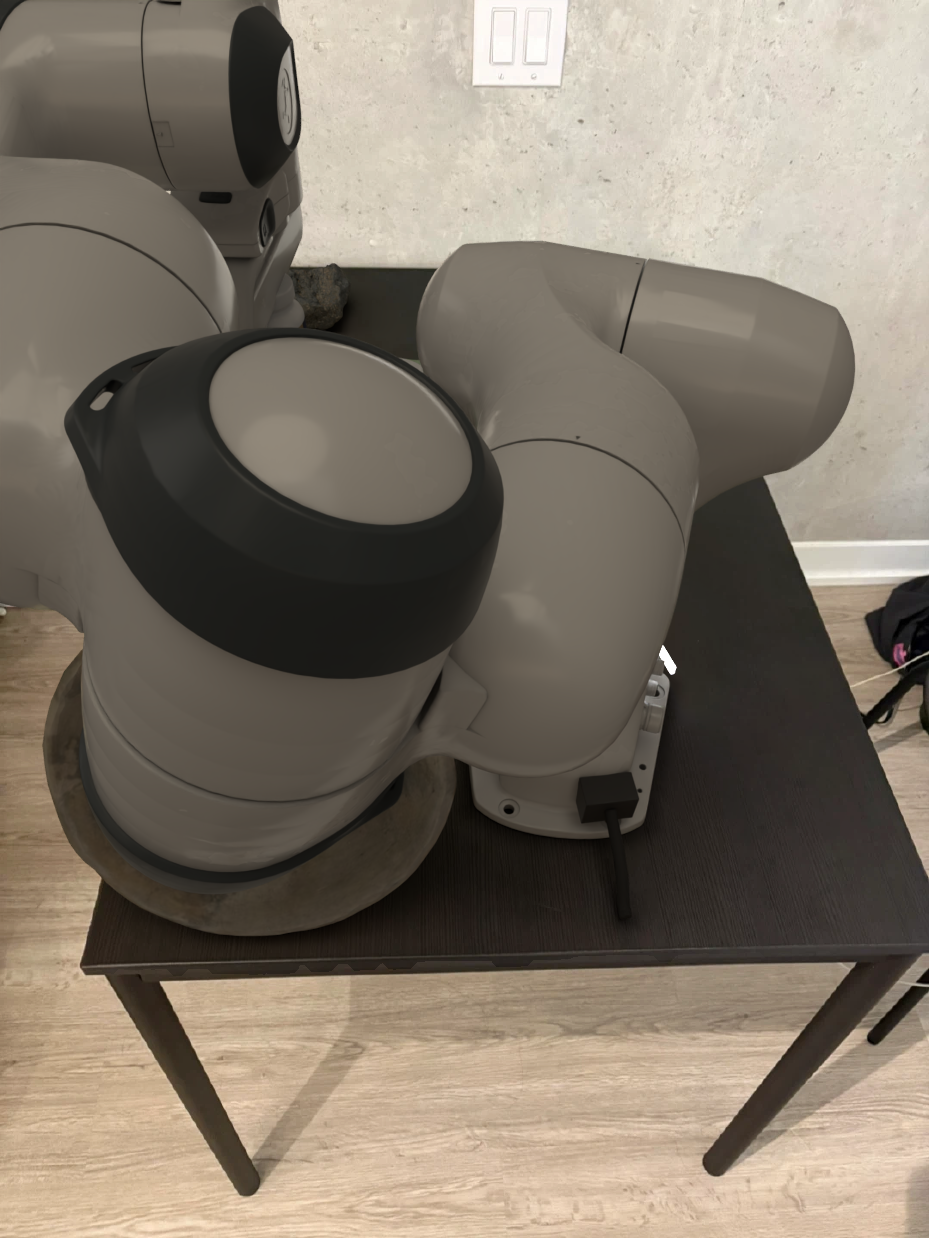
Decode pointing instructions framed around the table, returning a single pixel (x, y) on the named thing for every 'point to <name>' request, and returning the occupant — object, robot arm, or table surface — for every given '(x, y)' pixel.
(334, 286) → the rock
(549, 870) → the table surface
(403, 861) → the bowl
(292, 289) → the pill bottle
